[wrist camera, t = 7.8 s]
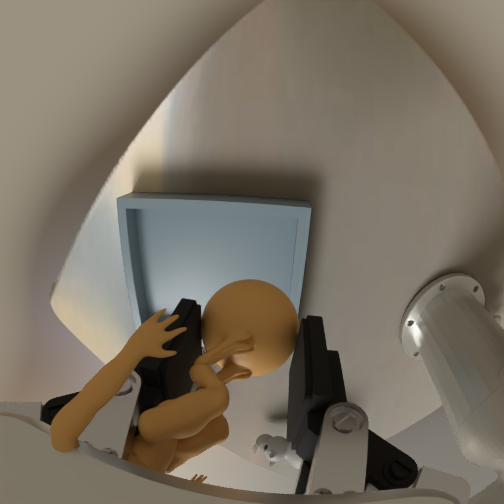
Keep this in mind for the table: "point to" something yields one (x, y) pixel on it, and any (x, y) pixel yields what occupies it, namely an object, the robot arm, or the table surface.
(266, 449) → the chubby cartoon animal
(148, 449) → the figurine
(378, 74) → the table surface
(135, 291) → the tray
